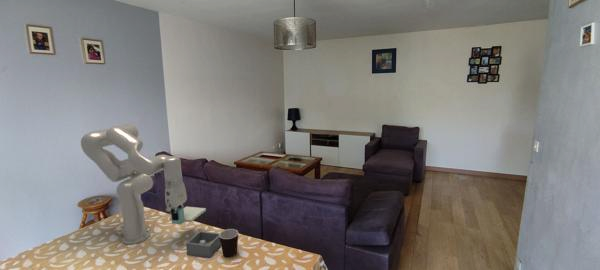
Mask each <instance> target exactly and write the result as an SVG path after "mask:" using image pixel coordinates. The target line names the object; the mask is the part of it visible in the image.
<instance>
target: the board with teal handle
mask: <svg viewBox="0 0 600 270" xmlns="http://www.w3.org/2000/svg"><path fill="white" fill-rule="evenodd" d="M173 209H174V208H173ZM206 211H207V208H205V207H197V206H196V207H195V206H185V207H184V208H177V212H178V220H172V214H171V213H170V217H169V220H170V221H171V224H173V225H174V224H175V225H182V224H183V223H185V222H186V223H187V222H188V223H192V222H193V221H194V220H196V219H197V218H199V216H201V215H202V214H204V213H205V212H206Z"/></svg>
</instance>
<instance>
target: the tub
mask: <svg viewBox="0 0 600 270" xmlns="http://www.w3.org/2000/svg"><path fill="white" fill-rule="evenodd" d="M219 234H220V233H218V232H212V231H211V232H210V231H204V230H203V231H202V230H199V231H198V232H197V233H196V234H195V235H193V236H192V237H191V238H189V240H188V241H186V242H185V246H186V247H185V248H186V255H187V256H191V257H193V256H194V257H198V258H205V259H211V258H212V257H213V256H214V255H215V254H216V252H218V250H219V249H220V248H222V247H221V242H220V237H219Z"/></svg>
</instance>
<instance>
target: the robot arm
mask: <svg viewBox="0 0 600 270" xmlns="http://www.w3.org/2000/svg"><path fill="white" fill-rule="evenodd" d="M138 136H139V130H138V128H137V127H136V126H135V125H132V124H130V123H128V124H121V125H116V126H112V127H110V128H105V129H101V130H100V129H99V130H94V131H90V132H88V133H86V134H84V135H83V136H82V137H81V140H80V146H81V150H82V151H83V153H84V154H85V155H86V156H87V157H88V158H89V159H90V160H91V161H92V162H93V163H94V164H95V165H96V166H97V167H98V168H99V169H100V170H101V172H102V173H103V174H104V175H105V177H107V179H109V181H111V182H113V183H115V182H120V183H119V184H117V187H116V188H115V189H116V190H115V191H116V195H117V198H118V200H119V203H120V207H121V214H122V221H123V222H122V223H123V228H121V230H120V231H119V233H120V234H121V235H123V236H122V238H121V243H123V244H125V245H134V244H138V243H141V242H143V241H145V240H148V239H149V237H150V236H151V231H150V230H148V229H147V224H146V216H145V209H144V202H143V200H142V199H141V198H140V197H139V196H141V195H142V194H143V193H146V192H147V191H150V190H151V189H152V188H153V186H154V181H153V179H152V177H151V176H152V175H154V174H157V173H160V172H162V171H163V174H164V175H163V176H164V183H165V184H164V186H165V187H164V188H165V189H164V200H165V201H164V202H165V207H166V209H165V212H169V213H170V215H171V214H172V220H178V212H177V208H185V207H184V205H185V202H187V200H188V195H187V190H186V185H185V183H184V182H183V181H184V180H183V172H182V162H181V158H180V156H178V155H167V154H159V155H155V156H151V157H149V158H146V157H145V156H143V155H142V154H140V151H141V150H142V149H143V146H144V142H143V141H142V140H141V139H139V138H138ZM113 145H114V146H115V147H116V148H118V149H120V150H121V151H123V153H126V154H127V158H125V159H123V160H120V159H118V157H116V155H115V154H114V153H113V152H111V151H109V150H108V149H105V148H106V147H109V146H113ZM121 181H122V182H121ZM173 208H174V209H173ZM172 220H171V221H172Z"/></svg>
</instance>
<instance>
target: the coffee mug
mask: <svg viewBox="0 0 600 270" xmlns="http://www.w3.org/2000/svg"><path fill="white" fill-rule="evenodd" d="M219 237H220V242H221V247H220V248H221V250H222V251H221V252H222V255H223V257H224V258H227V259H228V258H234V257H236V256H237V254H238V245H239V244H238V242H239V231H238V230H237V229H234V228H227V229H224V230H223V231H221V232H220V233H219Z"/></svg>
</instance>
